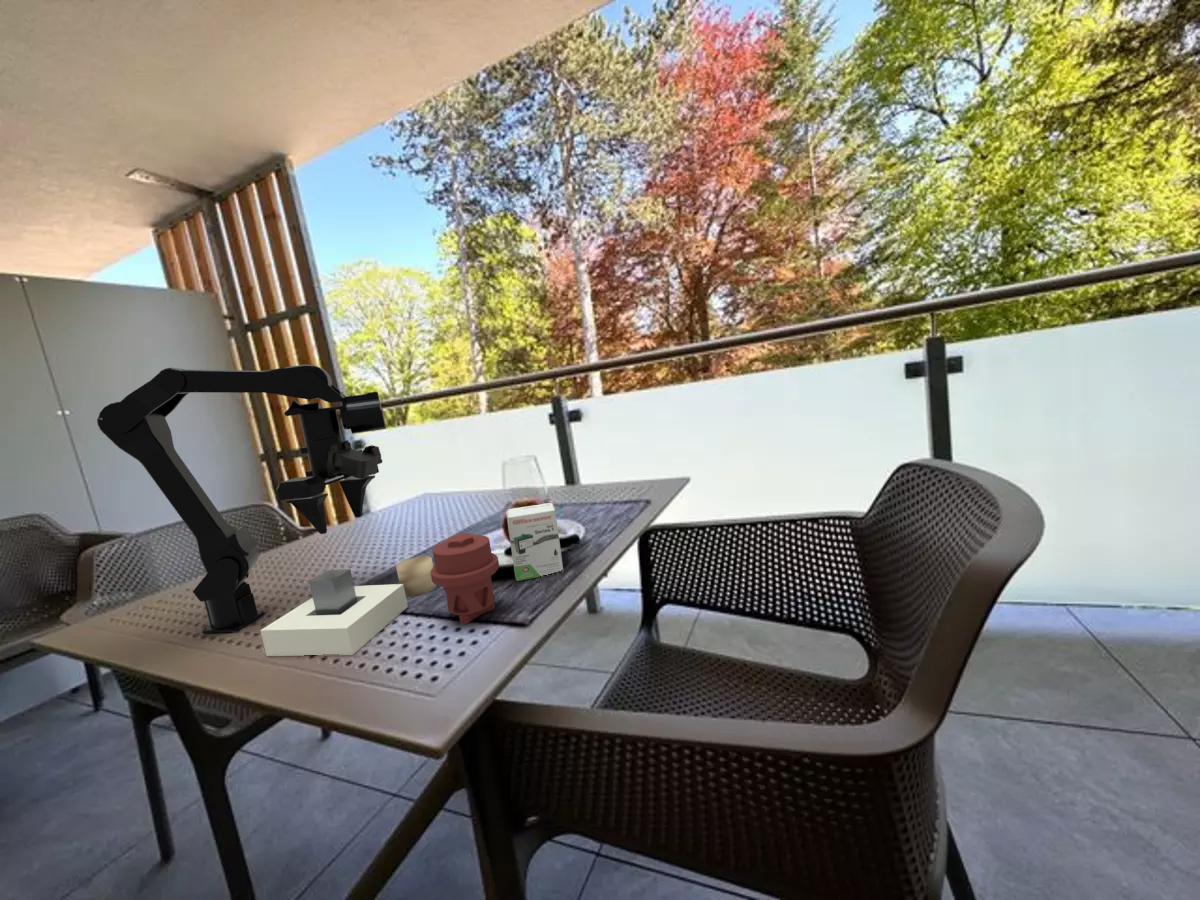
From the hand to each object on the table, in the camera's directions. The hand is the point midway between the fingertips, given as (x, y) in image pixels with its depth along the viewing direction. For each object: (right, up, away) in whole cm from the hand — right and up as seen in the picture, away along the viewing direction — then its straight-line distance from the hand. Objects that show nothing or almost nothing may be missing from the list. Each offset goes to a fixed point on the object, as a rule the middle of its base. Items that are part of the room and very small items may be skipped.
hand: (341, 524), depth 91 cm
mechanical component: (+26, -12, -12) cm, 31 cm away
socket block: (+6, -14, -12) cm, 20 cm away
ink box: (+35, -9, +1) cm, 36 cm away
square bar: (+6, -14, -12) cm, 20 cm away
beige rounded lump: (+13, -12, +1) cm, 18 cm away
